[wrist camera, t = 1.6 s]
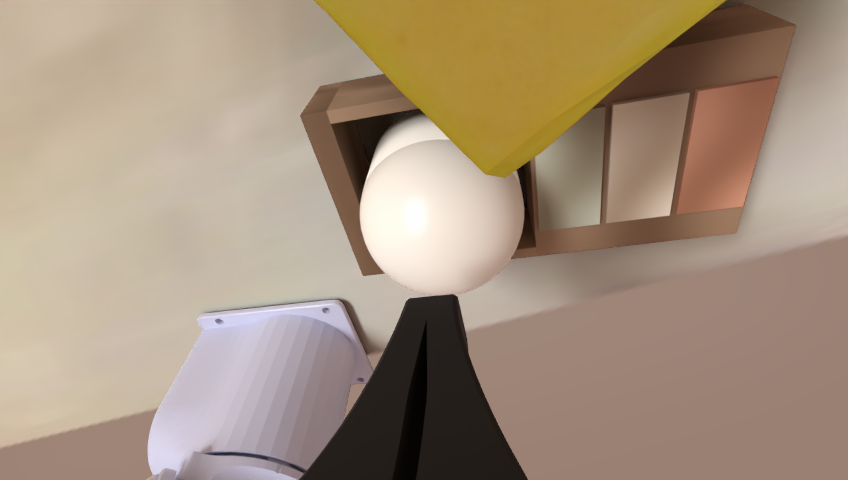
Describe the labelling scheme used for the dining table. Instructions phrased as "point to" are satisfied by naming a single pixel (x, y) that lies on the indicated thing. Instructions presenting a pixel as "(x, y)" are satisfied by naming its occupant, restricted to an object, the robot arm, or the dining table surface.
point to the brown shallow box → (610, 144)
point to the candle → (511, 62)
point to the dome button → (437, 211)
